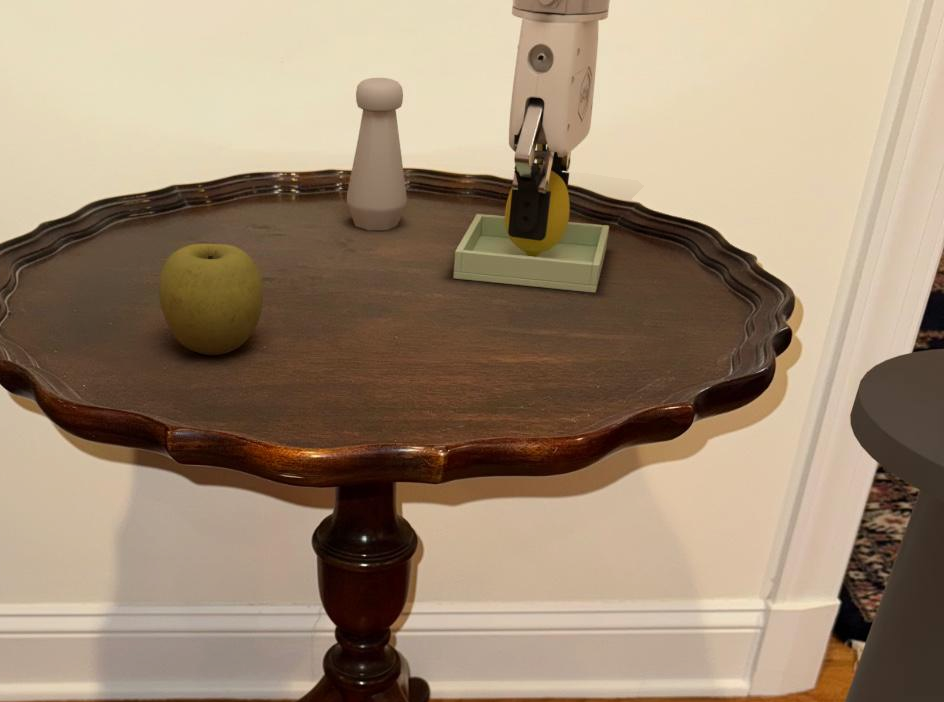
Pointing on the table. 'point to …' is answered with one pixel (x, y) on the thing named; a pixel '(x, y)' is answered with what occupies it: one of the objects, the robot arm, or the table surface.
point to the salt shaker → (377, 158)
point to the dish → (501, 261)
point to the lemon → (556, 218)
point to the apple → (211, 297)
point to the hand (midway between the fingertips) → (536, 225)
